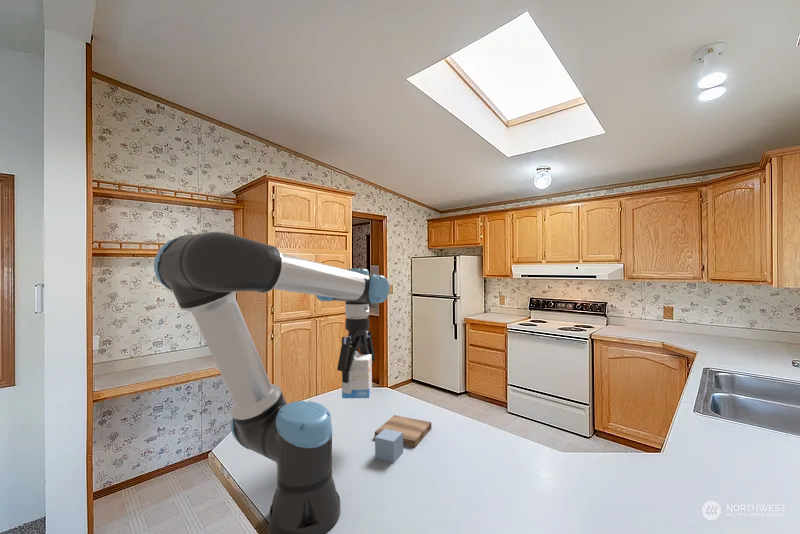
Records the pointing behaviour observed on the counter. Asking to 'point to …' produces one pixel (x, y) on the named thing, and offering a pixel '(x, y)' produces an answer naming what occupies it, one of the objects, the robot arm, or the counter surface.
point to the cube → (389, 445)
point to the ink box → (360, 376)
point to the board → (407, 429)
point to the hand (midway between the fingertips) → (357, 387)
